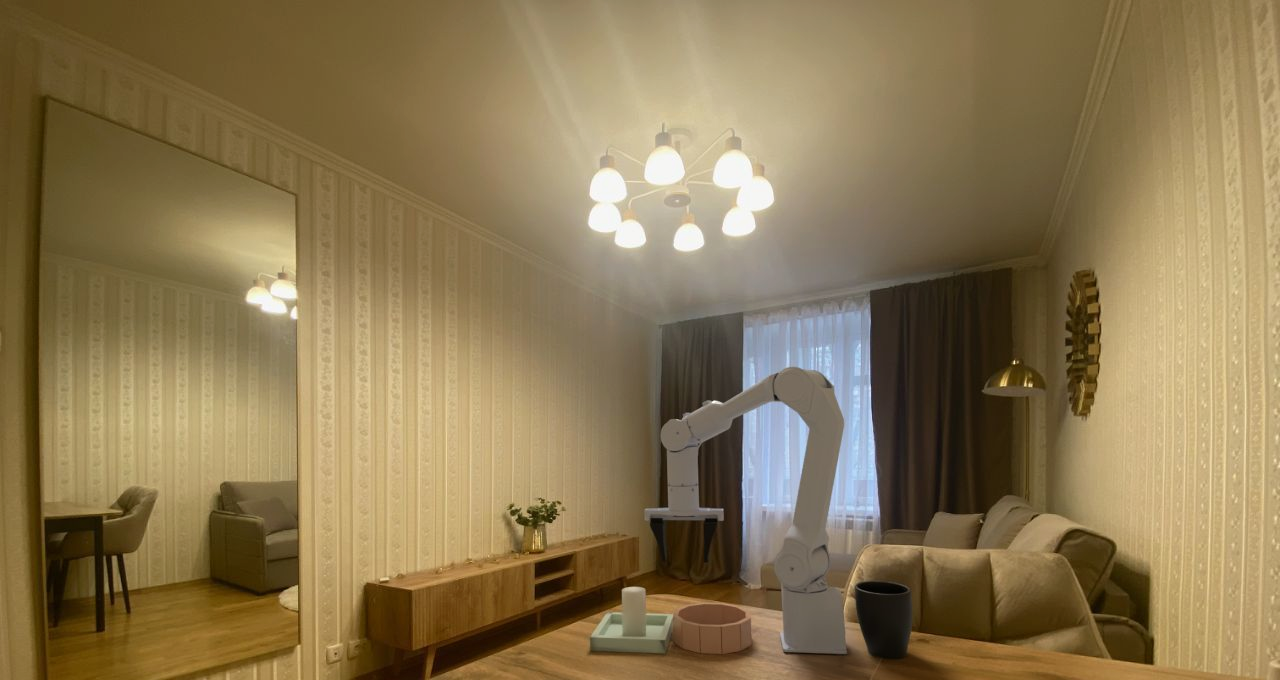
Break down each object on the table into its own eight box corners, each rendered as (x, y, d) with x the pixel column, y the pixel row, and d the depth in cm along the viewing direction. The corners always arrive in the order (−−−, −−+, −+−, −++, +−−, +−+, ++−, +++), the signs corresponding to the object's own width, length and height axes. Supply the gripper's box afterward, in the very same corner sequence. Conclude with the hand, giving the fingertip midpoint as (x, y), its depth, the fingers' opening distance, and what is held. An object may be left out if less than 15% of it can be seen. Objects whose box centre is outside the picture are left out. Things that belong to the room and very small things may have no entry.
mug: (904, 636, 99) (899, 575, 101) (922, 664, 88) (916, 595, 89) (852, 633, 101) (848, 574, 103) (862, 660, 90) (858, 593, 91)
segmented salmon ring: (750, 628, 105) (749, 603, 105) (752, 655, 92) (751, 627, 93) (678, 625, 107) (677, 601, 107) (670, 652, 94) (669, 624, 95)
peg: (647, 630, 103) (647, 587, 104) (644, 638, 99) (643, 593, 100) (624, 629, 103) (624, 586, 104) (620, 637, 99) (619, 592, 100)
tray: (674, 626, 106) (673, 614, 107) (665, 653, 94) (665, 639, 94) (607, 623, 108) (607, 612, 109) (590, 650, 96) (590, 637, 96)
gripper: (722, 482, 115) (725, 556, 113) (647, 483, 117) (649, 555, 116) (722, 486, 108) (724, 565, 106) (642, 486, 111) (643, 564, 109)
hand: (685, 561), depth 111 cm, fingers open, 7 cm apart
